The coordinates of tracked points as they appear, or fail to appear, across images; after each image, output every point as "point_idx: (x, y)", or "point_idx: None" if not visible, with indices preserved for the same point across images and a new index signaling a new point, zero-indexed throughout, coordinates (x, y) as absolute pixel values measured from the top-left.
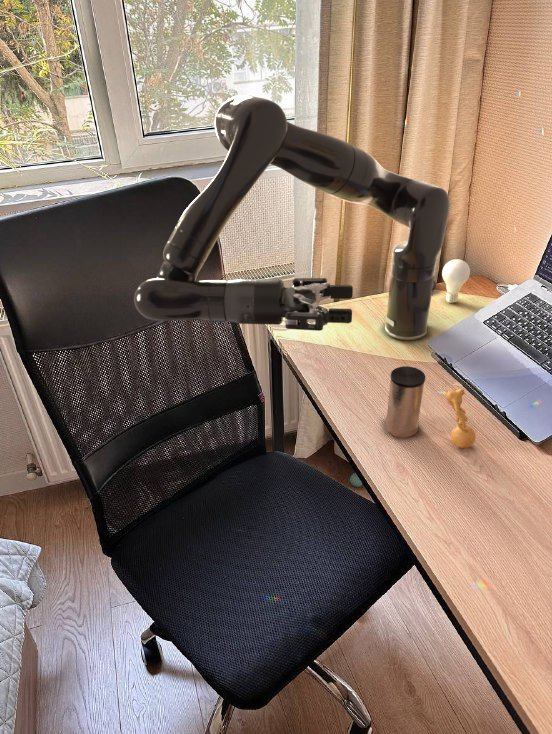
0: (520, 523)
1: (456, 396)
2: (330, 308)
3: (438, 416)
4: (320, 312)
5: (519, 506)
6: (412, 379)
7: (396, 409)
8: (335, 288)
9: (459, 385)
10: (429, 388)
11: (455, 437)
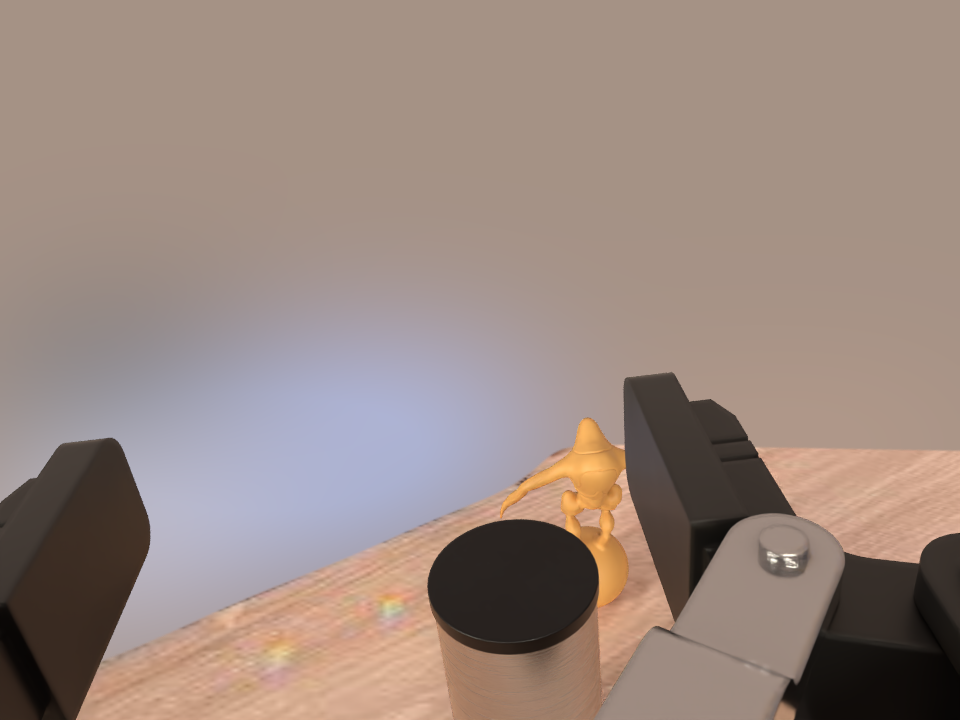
0: (871, 483)
1: (611, 446)
2: (684, 509)
3: (435, 662)
4: (837, 602)
5: (806, 484)
6: (543, 557)
7: (595, 715)
8: (45, 572)
9: (239, 608)
10: (245, 698)
11: (615, 577)
